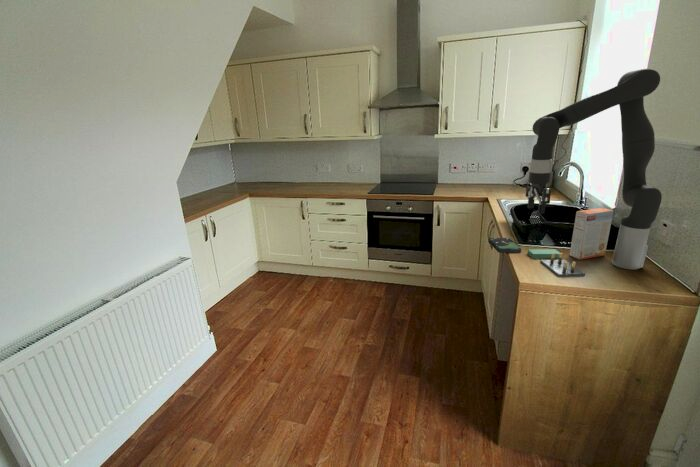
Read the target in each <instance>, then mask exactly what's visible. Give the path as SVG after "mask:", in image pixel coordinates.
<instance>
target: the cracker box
mask: <svg viewBox="0 0 700 467" xmlns="http://www.w3.org/2000/svg"><path fill="white" fill-rule="evenodd" d="M614 211H615V210H613V209H610V208H609V209H608V208H605V207H597V208H590V209H584V210H577V211H576V213H575V219H574V225H573V231H572V236H571V243H570V244H571V245H570V250H569V255H568V256H570V257H573V258H575V259H577V260H580V261H582V260H586V259H591V258H597V257H603V256H604V257H605V255H606V251H607V246H608V241H609V236H610V230H611V225H612V221H613V216H614Z"/></svg>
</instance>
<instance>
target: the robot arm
mask: <svg viewBox="0 0 700 467" xmlns="http://www.w3.org/2000/svg"><path fill="white" fill-rule="evenodd" d="M660 83H661V75H660V73H659V72H658V71H657V70H656V69H652V68H642V69H636V70H631V71H628V72H626V73H624V74H623V75H622V76H621V77H620V78H619V80H618V82H617V84H616V86H614V87H612V88H609V89H607V90H605V91H601V92H599V93H597V94H593V95H590V96H587V97H586V98H583V99H580V100H578V101H575V102H573V103H571V104H569V105H568V106H565V107H564V108H562V109H559V110H557V111H556V110H555V111H554V112H551V113H549V114H546V115H544V116H542V117H540V118H537V119H536V120H535V122H533V124H532V132H533V134H535V135H536V136H537V141H536V143H535V144H534V145H533V146H532V151H531V152H532V153H531V161H530V164H529V171H528V172H529V174H528V182H527V184H526V188H525V198H526V197H527V200H528V201H527V209H534V208H535V198H536V199H537V200H538V211H537V214H539V215H544V214H545V211H546V205H549V204H550V203H551V193H552V189H551V188H548V187H547V185H548V184H550V182H551V178H552V177H551V175H552V169H553V157H554V149H555V145H556V142H557V139H558V136H559V133H560V129H561V128H565V127H570V126H572V125H573V126H574V125H575V124H578V123H580V122H582V121H584V120H586V119H588V118H591V117H592V116H594V115H597V114H599V113H602V112H604V111H605V110H608V109H610V108H612V107H615V106H619V110H620V123H621V124H620V125H621V148H622V149H621V150H622V161H623V162H622V163H623V165H622V166H623V179H622V180H623V181H622V193H621V194H622V201H623V202H624V204H625V205H627V206H628V207H631V211H630V213H629V214H628V215H625V216H623V217H622V218H621V220H620V226H619V229H618V234H617V239H616V242H615V243H616V244H615V247H614V252H613V255H612V260H611V264H612V265H613V266H615V267H617V268H621V269H624V270H631V271H633V270H634V271H635V270H639V269H641V268H643V267H644V264H645V260H646V257H647V252H648V249H649V246H648V244H647V242H648V238H649V234H650V231H651V227H652V224H653V223H654V222H655V221H656V218H657V217H658V213H659V209H660V206H661V203H662V198H663V197H662V193H661V191H660V189H658V188H656V187H654V186H650V185H647V177H646V176H647V174H646V172H647V171H646V170H647V167H648V165H649V163H650V162H651V160H652V157H653V156H654V153H655V150H656V149H655V148H656V145H655V143H656V142H655V130H654V126H653V125H652V122H651V121H650V119H649V117H648V115H647V113H646V110H645V105H644V100H645V99H644V97H646V96H649V95H651V94H652V93H654V91H656V90H657V89H658V87H659V85H660Z"/></svg>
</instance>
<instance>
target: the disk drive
mask: <svg viewBox="0 0 700 467" xmlns="http://www.w3.org/2000/svg"><path fill="white" fill-rule="evenodd" d="M487 242H488V243H489V245H491V246H492V247H493V248H494V249H495V251H496V252H497V253H498V254H504V253H507V254H513V253H519V254H520V253H522V248H521V246H520V245H518V244H517V243H516V242H515V241H513V239H511V237H497V238H494V237H489V238H488V241H487Z"/></svg>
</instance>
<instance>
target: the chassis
mask: <svg viewBox="0 0 700 467" xmlns="http://www.w3.org/2000/svg"><path fill="white" fill-rule="evenodd" d="M563 255H564V253H562V252H560V254H559V258H558V259H556V258H555V253H552V256H551V258H550V259H541V260H540V263H541V265H543V266H545V267H546V268H547V269H549V270H550V271H551V272H552V273H553V274H555V275H556V276H557V277H562V278H563V277H585V276H586V273H585V272H583V271H582V270H580V269H579V268H577V267H576V265H577V261H574V260H573V261H572V262H571V263H570V262H569V261H567V260H566V259H563Z"/></svg>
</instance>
